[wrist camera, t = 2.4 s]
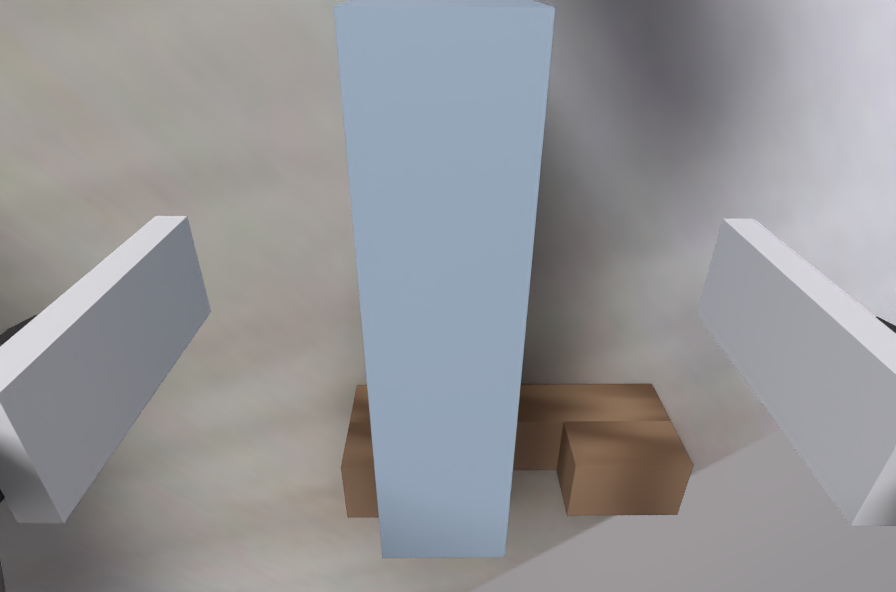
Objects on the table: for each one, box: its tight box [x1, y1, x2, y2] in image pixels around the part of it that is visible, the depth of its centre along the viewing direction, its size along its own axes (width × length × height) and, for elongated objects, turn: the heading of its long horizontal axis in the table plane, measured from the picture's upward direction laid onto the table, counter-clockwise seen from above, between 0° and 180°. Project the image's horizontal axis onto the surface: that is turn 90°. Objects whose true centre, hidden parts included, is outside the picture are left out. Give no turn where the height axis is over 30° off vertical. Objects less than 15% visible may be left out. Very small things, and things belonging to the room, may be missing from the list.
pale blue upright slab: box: [334, 0, 555, 558], centre depth 16 cm, size 3×12×12 cm, turn 0°
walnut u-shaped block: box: [341, 384, 693, 518], centre depth 25 cm, size 14×3×5 cm, turn 90°
